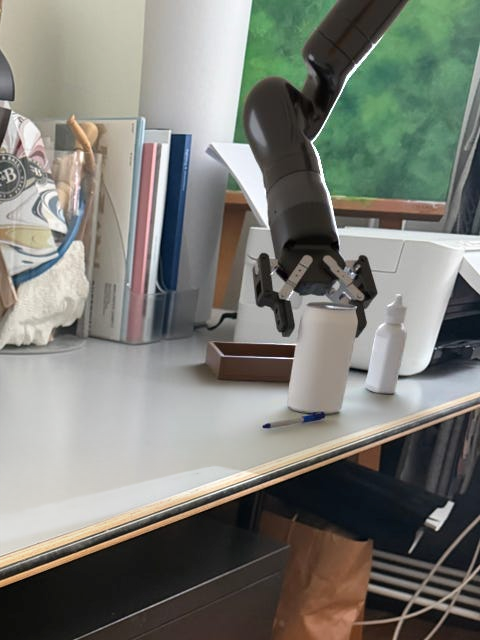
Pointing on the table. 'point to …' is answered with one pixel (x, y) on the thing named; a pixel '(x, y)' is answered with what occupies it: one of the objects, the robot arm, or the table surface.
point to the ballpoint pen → (296, 420)
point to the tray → (250, 361)
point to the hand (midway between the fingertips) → (323, 333)
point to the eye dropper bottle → (388, 350)
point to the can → (322, 357)
